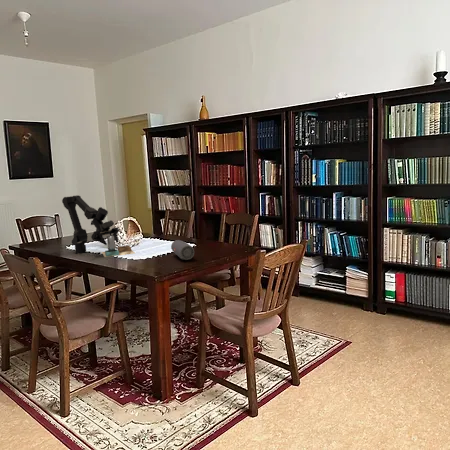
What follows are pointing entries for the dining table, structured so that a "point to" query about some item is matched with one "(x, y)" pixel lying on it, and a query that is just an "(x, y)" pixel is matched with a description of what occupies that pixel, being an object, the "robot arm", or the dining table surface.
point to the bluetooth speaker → (182, 250)
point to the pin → (111, 243)
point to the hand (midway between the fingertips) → (112, 243)
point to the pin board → (119, 251)
